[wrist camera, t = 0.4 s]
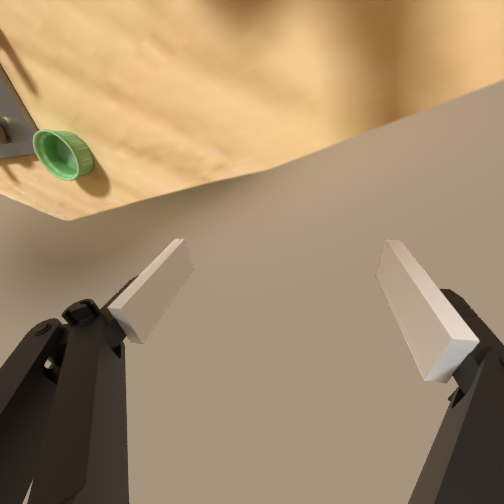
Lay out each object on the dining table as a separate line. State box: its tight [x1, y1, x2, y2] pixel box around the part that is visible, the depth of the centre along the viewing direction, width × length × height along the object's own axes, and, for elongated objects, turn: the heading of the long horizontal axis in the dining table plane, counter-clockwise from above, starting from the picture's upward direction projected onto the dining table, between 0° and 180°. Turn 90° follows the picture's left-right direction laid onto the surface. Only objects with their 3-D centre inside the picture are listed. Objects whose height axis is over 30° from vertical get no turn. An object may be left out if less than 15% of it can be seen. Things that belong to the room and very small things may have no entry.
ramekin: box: [33, 130, 93, 181], centre depth 42 cm, size 9×9×4 cm
